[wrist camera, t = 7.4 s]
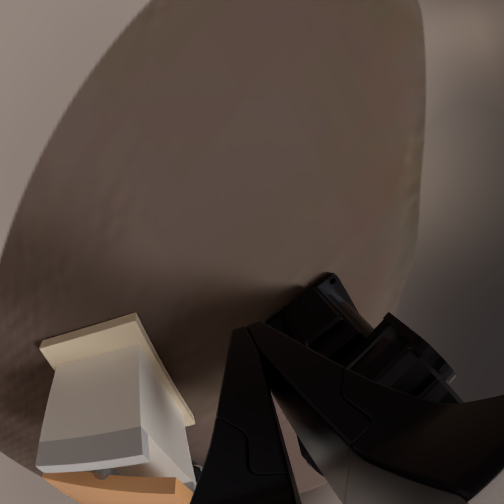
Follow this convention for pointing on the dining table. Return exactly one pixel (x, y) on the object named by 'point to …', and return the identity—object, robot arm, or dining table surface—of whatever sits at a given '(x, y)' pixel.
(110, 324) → the box
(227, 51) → the dining table surface
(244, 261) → the dining table surface
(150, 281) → the dining table surface
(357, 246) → the dining table surface
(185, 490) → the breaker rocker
